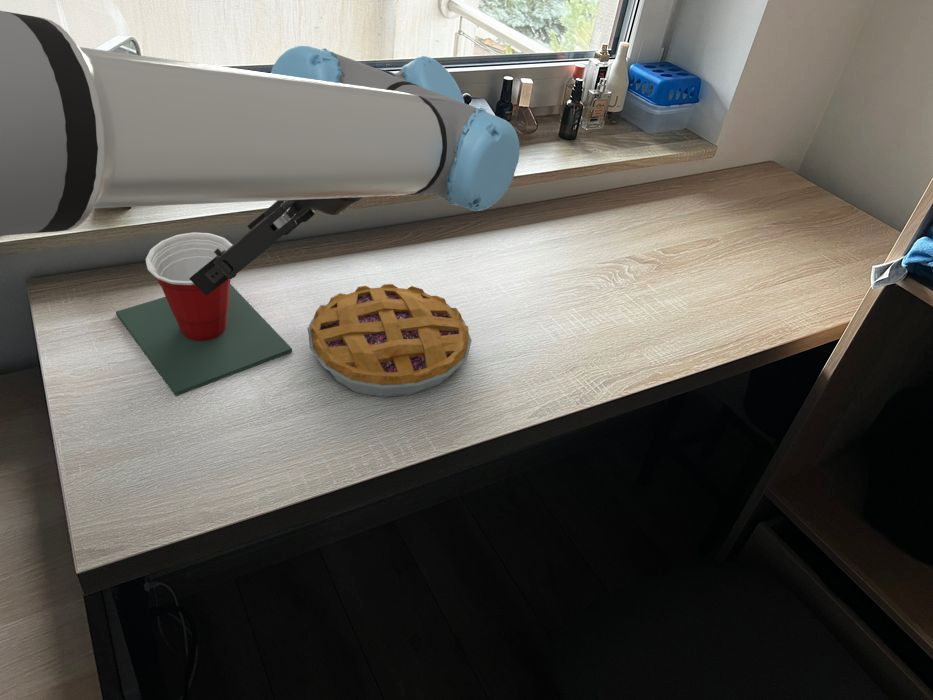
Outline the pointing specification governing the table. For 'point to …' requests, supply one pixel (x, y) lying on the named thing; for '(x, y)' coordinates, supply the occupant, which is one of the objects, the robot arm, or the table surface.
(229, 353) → the placemat
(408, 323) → the pie
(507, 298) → the table surface
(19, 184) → the robot arm
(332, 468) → the table surface
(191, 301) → the plastic cup
